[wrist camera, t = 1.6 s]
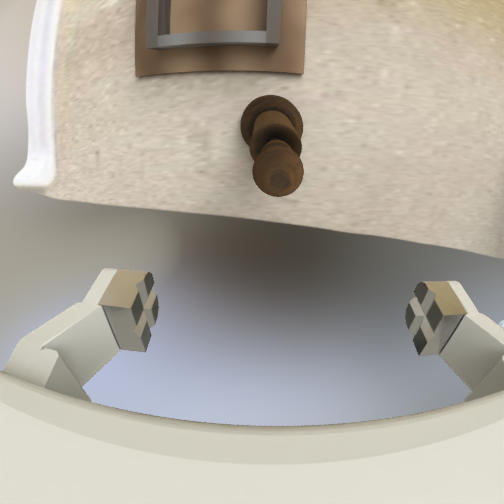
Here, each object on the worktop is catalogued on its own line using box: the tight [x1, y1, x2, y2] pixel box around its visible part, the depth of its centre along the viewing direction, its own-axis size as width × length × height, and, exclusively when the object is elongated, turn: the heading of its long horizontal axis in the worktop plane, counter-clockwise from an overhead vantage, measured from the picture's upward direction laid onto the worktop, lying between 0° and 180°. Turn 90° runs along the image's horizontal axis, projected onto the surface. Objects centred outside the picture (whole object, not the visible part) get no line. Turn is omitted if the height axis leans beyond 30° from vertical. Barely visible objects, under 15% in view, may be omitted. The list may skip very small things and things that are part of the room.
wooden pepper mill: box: [241, 95, 304, 197], centre depth 24 cm, size 7×6×18 cm
